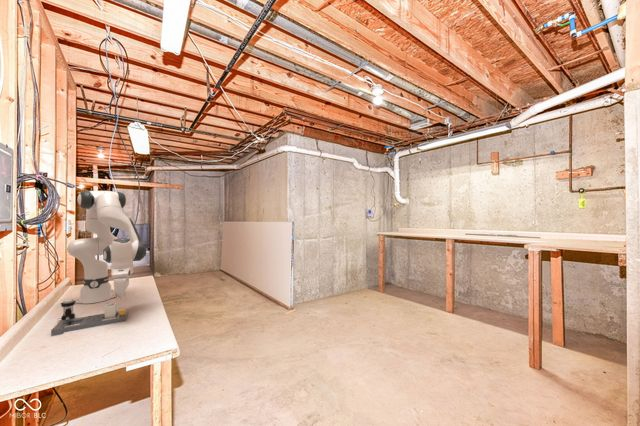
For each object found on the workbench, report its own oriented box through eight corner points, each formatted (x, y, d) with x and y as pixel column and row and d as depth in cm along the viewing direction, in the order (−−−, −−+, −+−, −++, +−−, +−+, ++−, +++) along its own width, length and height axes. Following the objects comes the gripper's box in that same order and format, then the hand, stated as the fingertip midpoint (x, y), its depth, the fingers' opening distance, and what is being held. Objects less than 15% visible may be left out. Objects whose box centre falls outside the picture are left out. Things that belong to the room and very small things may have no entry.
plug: (106, 320, 128) (106, 303, 128) (116, 318, 130) (116, 301, 130) (104, 323, 125) (104, 305, 125) (115, 321, 127) (115, 304, 127)
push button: (55, 323, 126) (55, 303, 126) (59, 320, 131) (59, 300, 131) (74, 320, 130) (73, 300, 130) (76, 317, 134) (76, 298, 134)
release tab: (120, 317, 130) (120, 309, 130) (125, 316, 132) (125, 308, 132) (119, 318, 128) (119, 310, 128) (125, 317, 130) (125, 309, 130)
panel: (60, 326, 123) (60, 320, 123) (128, 315, 136) (128, 309, 136) (51, 337, 112) (51, 330, 112) (125, 323, 126) (125, 317, 126)
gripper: (117, 268, 137) (117, 294, 137) (111, 275, 120) (111, 305, 120) (132, 266, 141) (132, 292, 141) (127, 273, 123) (128, 302, 123)
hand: (122, 298), depth 130 cm, fingers closed
